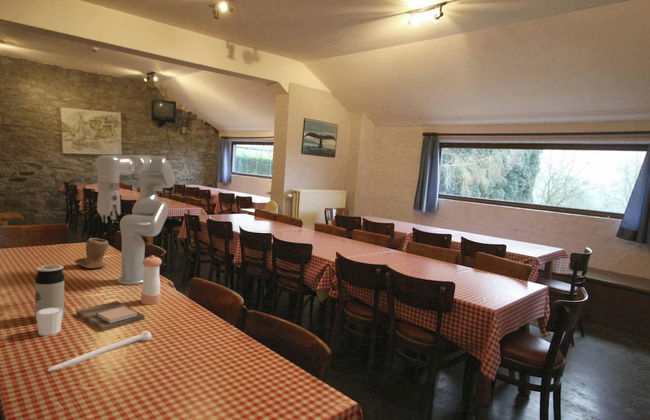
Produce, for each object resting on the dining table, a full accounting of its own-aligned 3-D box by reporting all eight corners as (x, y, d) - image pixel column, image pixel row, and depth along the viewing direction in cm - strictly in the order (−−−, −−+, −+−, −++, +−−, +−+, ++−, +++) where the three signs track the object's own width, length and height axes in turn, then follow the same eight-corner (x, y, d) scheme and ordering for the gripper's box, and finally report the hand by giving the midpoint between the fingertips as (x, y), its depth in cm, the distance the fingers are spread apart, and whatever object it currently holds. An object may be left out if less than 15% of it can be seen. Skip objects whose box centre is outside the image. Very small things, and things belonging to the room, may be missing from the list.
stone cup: (112, 267, 190) (112, 239, 188) (86, 271, 180) (87, 242, 179) (98, 261, 198) (99, 235, 197) (73, 265, 189) (74, 237, 187)
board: (76, 314, 130) (76, 310, 129) (116, 304, 141) (116, 301, 141) (102, 331, 118) (102, 327, 118) (144, 319, 130) (144, 315, 130)
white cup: (67, 330, 118) (68, 309, 117) (45, 338, 111) (45, 316, 110) (53, 325, 120) (53, 305, 119) (30, 333, 113) (30, 312, 113)
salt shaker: (164, 300, 149) (166, 255, 147) (149, 305, 143) (151, 258, 141) (152, 297, 152) (153, 252, 150) (136, 302, 146) (138, 255, 144)
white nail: (52, 377, 92) (52, 367, 92) (45, 372, 94) (45, 361, 94) (154, 340, 116) (154, 331, 116) (146, 336, 118) (147, 327, 118)
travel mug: (61, 311, 131) (62, 263, 129) (65, 318, 125) (66, 268, 124) (33, 316, 125) (33, 266, 124) (36, 324, 120) (37, 271, 118)
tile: (110, 319, 120) (110, 323, 120) (136, 312, 128) (136, 315, 128) (96, 312, 126) (96, 315, 126) (122, 305, 133) (122, 309, 134)
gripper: (127, 188, 143) (126, 234, 144) (109, 185, 151) (108, 229, 153) (107, 188, 137) (106, 236, 138) (89, 185, 145) (88, 230, 147)
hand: (107, 232), depth 146 cm, fingers closed
